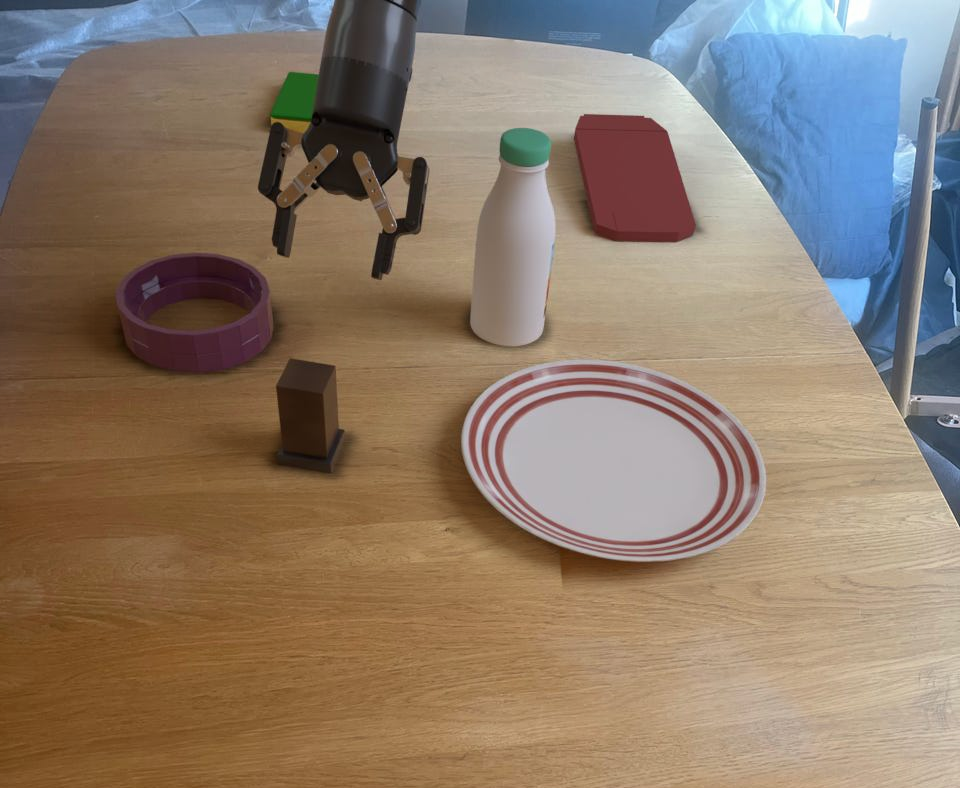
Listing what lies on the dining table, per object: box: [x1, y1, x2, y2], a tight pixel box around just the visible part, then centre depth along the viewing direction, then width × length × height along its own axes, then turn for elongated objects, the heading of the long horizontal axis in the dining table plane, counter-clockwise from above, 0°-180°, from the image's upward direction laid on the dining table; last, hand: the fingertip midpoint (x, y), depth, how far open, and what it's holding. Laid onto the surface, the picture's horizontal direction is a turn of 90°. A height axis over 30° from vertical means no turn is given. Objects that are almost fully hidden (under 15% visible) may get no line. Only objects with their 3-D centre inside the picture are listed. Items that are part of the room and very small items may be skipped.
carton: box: [573, 113, 697, 243], centre depth 126 cm, size 12×5×25 cm
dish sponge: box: [269, 71, 319, 133], centre depth 133 cm, size 7×14×2 cm, turn 177°
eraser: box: [275, 357, 346, 474], centre depth 86 cm, size 5×5×9 cm
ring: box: [115, 252, 274, 374], centre depth 98 cm, size 14×14×5 cm
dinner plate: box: [460, 358, 767, 563], centre depth 90 cm, size 28×27×3 cm
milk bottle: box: [469, 127, 556, 347], centre depth 97 cm, size 8×8×20 cm
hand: (329, 267), depth 88 cm, fingers open, 8 cm apart
